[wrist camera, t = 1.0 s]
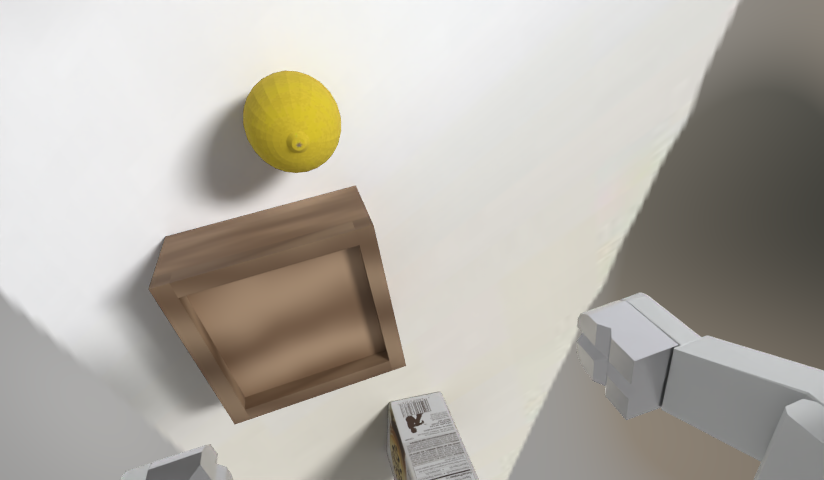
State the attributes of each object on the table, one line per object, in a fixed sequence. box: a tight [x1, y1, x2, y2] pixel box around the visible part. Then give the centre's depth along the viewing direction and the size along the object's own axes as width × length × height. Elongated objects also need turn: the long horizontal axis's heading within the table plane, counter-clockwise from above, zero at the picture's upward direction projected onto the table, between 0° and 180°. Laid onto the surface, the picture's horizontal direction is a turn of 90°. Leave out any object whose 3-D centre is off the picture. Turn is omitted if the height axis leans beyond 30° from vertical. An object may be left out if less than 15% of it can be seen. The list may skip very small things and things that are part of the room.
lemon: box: [243, 71, 341, 173], centre depth 26 cm, size 6×6×8 cm
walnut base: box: [149, 186, 406, 424], centre depth 34 cm, size 14×14×6 cm
